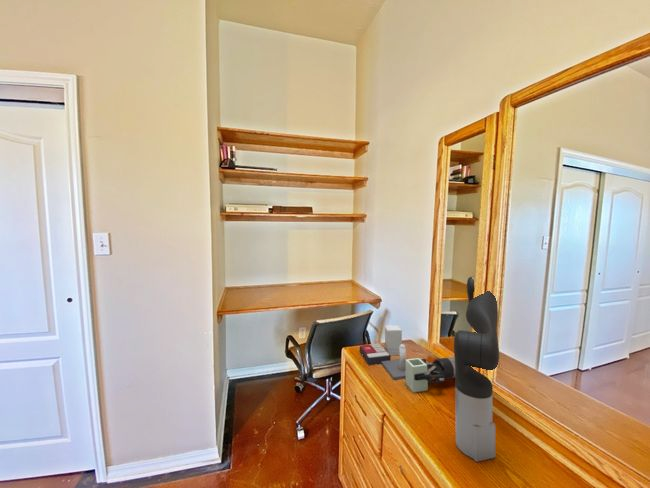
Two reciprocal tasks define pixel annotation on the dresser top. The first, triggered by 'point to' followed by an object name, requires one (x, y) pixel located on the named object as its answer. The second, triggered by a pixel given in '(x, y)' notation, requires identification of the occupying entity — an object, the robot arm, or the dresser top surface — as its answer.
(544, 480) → the dresser top surface
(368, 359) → the dark gray paneled box
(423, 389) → the sleeve
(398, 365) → the post stand
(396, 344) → the supplement box
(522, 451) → the dresser top surface
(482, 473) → the dresser top surface
